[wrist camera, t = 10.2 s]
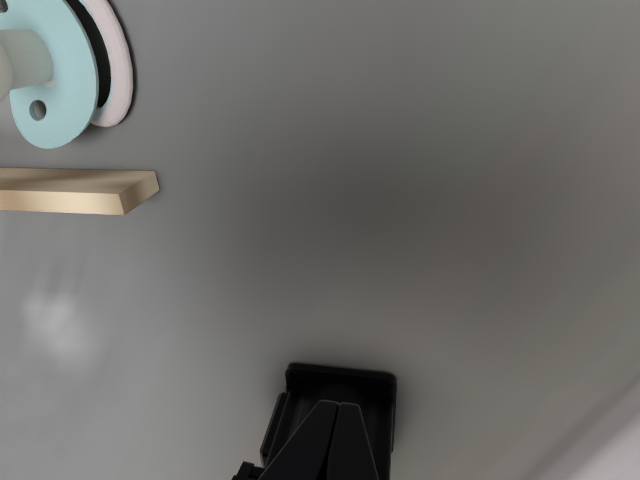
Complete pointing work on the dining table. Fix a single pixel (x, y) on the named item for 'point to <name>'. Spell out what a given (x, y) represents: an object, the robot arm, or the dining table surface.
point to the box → (75, 190)
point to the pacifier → (61, 69)
